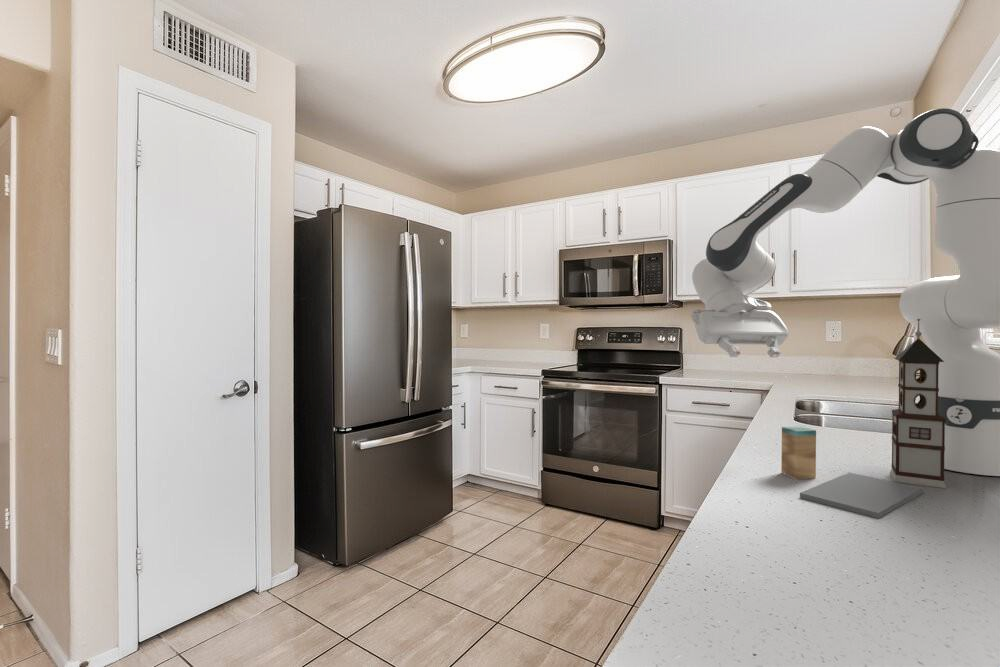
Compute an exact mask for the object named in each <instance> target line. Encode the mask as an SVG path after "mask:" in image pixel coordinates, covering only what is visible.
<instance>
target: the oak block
mask: <svg viewBox="0 0 1000 667" xmlns="http://www.w3.org/2000/svg"><path fill="white" fill-rule="evenodd" d="M816 466H817V430H816V429H812V428H808V427H804V426H799V425H796V426H781V469H780V470H781V472H782V473H781V474H783V473H785V474H787V475H786V476H788V475H789V476H788V477H790V476H792V477H794V478H793V479H795V478H796V479H795V480H803V479H802V478H810V479H816V478H817V477H816V474H817V472H816V471H817V469H816V468H817V467H816ZM785 474H784V475H785ZM792 477H791V478H792Z"/></svg>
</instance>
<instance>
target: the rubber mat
mask: <svg viewBox="0 0 1000 667" xmlns="http://www.w3.org/2000/svg"><path fill="white" fill-rule="evenodd" d="M923 490H924V488H923V487H921V486H916V485H913V484H908V483H902V482H894V481H893V480H892V481H891V480H886V479H882V478H877V477H873V476H869V475H863V474H858V473H853V472H847V473H845V474H842V475H839V476H837V477H835V478H832V479H830V480H828V481H825V482H823V483H820V484H818V485H816V486H813V487H810V488H808V489H806V490H804V491H803V490H802V491H801V492H800V493H799V498H800V499H803V500H807V501H812V502H815V503H819V504H823V505H827V506H831V507H835V508H838V509H842V510H845V511H850V512H853V513H857V514H860V515H865V516H868V517H873V518H876V519H880V518H882V517H884V516H885V515H887V514H888V513H890V512H892V511H893V510H896V509H897V508H899V507H900V506H902V505H904V504H905V503H907V502H909V501H910V500H912V499H914V498H916V497H918V496H919V495H921V494H922V493H924V491H923Z"/></svg>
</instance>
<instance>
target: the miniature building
mask: <svg viewBox="0 0 1000 667" xmlns="http://www.w3.org/2000/svg"><path fill="white" fill-rule="evenodd" d="M917 321H918V330H917V331H916V332H915V336H917V338H916V339H915V340H914V341H913V342H912V343H911V344H909V345H908V346H907V347H906V348H905V349H903V350H902V352H900V353H899V354H897V356H895V357H894V360H896V361H898V363H899V364H898V385H897V387H898V408H896V409H891V416H892V417H891V418H892V422H891V423H892V425H891V427H892V428H891V431H892V433H891V470H890V471H889V474H890V476H891V479H892V481H893V482H897V483H902V484H908V485H919V486H926V487H933V488H940V489H947V487H946V486H947V485H945V469H944V451H945V422H946V419H945V418H944V417H943V416H941V415H940V414H939V413H938V391H939V388H938V368H939V362H944V361H943V360H942V359H941V358H940V357H939V356H938V355H936V354H935V353H934V352H933V351H932V350H931V349H930V348H929V347H928V346H927V345H926V343H925V342H924V341H923V340H921V339H920V338H921V337H922V336H921V334H922V333H921V332H919V321H920V319H917ZM918 371H919V372H918ZM917 377H918V378H917ZM918 397H919V401H917V403H916V399H917V398H918Z"/></svg>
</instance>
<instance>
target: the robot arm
mask: <svg viewBox="0 0 1000 667" xmlns="http://www.w3.org/2000/svg"><path fill="white" fill-rule="evenodd" d="M979 143H980V140H979V138H978V136H977V135H976V134H975V133H974V132H973V130H972V128H971V125H970V123H969V121H968V120H967V118H966V117H965V116H964V115H963V114H962V113H961V112H959V111H958V110H954V109H952V108H942V107H941V108H936V109H930V110H928V111H926V112H923V113H921V114H919V115H918V116H916V117H915V118H913V119H912V120H910V121H909V122H908V123H907V124H906V125H905V126H904V128H903V129H902V130H900V132H899V133H892V134H890V133H885V131H884V130H882V129H880V128H876V127H873V126H863V127H859V128H857V129H854V130H853V131H851V132H850V133H848V134H847V135H846V136H844V137H843V138H842V139H841V140H839V141H838V142H837V143H836V144H834V145H833V146H832V147H831V148H829V150H827V152H826V153H824V155H822V157H821V158H819V159H818V160H817V161H816V162H815V164H813V165H812V166H811V167H810V168H808V169H807V170H806V171H804V172H802V173H797V174H792V175H790V176H788V177H787V178H785V179H783V180H782V181H780V182H779V183H778V184H776V185H775V186H774V187H773V188H771V189H770V190H769V191H768V192H766V193H765V194H764V195H763V196H761V197H760V198H759V199H758V200H757V201H756V202H754V203H753V204H752V205H751V206H750V207H749V208H747V209H746V210H745V211H743V213H741V214H740V215H738V216H737V218H735V219H733V220H732V221H731V222H729V223H727V224H726V225H724V226H722V227H721V228H719V229H718V230H716V231H715V232H714V233H713V234H712V235H711V236H710V238H709V239H708V242H707V245H706V249H705V256H706V258H704V259H702V260H700V261H699V262H698V263H697V264H695V266H694V268H693V271H692V276H691V280H692V283H693V287H694V289H695V292H696V293H697V294H696V295H697V296H698V298H699V300H700V301H701V302H702V303H703V304H704V305H705V309H703V310H702V309H696V310H694V311H693V312H691V315H690V318H691V320H692V322H693V323H694V326H695V331H696V335H697V336H698V339H699V341H700V342H701V343H703V344H705V345H718V346H719V348H721V349H722V350H724V351H725V352H726V353H728V355H729V357H730V358H738V357H739V356H740V354H741V349H739V347H738V346H734V345H744V346H745V345H748V346H749V345H753V346H754V345H755V346H756V345H759V346H760V345H761V346H763V345H765V346H767V348H769V349H768V351H767V354H768V356H769V358H772V359H773V358H775V359H776V358H779V356H780V355H781V351H780V349H779V347H778V346H781V345H783V344H784V342H785V341H786V340H787V338H788V337H789V333H790V332H789V329H788V327H787V326H786V324H785V323H784V321H783V320H782V319H781V317H780V316H779V315H778V314H776V312H774V311H773V310H771V309H772V305H771V303H770V302H768V301H765V300H761V299H758V298H754V297H751V296H750V294H753V292H756V291H758V290H759V289H760V288H763V287H765V285H767V284H769V282H770V281H771V280H772V279H773V277H774V275H775V272H776V266H777V265H776V261H775V259H774V258H772V256H771V255H770V254H769V253H768V252H767V251H766V250H765V248H763V247H762V246H761V245H760V244H759V243H758V242H757V238H758V236H759V234H761V233H762V232H763V231H764V230H766V229H767V228H768V227H769V226H770V225H771V224H773V223H774V222H775V221H776V220H778V219H779V218H780V217H782V216H783V215H784V214H786V213H787V212H788V211H791V210H793V209H804V210H806V211H809V212H812V213H818V214H825V213H826V214H827V213H833V212H837V211H838V210H841V209H842V208H843V207H845V206H847V204H849V203H850V202H852V200H853V199H854V198H855V197H857V195H858V194H859V193H860V192H861V191H862V190H864V188H865V187H867V186H868V184H870V182H872V180H874V179H875V178H876V177H877V178H881V179H884V180H887V181H891V182H892V183H895V184H898V185H904V186H905V185H906V186H908V185H909V186H910V185H915V184H917V185H918V184H920V183H922V182H925V181H927V180H930V181H931V182H932V184H933V185H934V188H935V192H936V193H935V194H936V202H935V228H934V243H935V246H936V248H937V250H938V251H940V252H942V253H943V254H946V255H949V256H951V257H952V258H953V259H954V260H955V261H956V263H957V266H958V270H959V274H958V275H949V276H948V275H947V276H939V277H938V276H937V277H932V278H929V279H924V280H921V281H917V282H915V283H912V284H910V285H908V286H907V287H906V288H904V290H903V291H902V293H901V295H900V298H899V306H898V307H899V312H900V313H901V315H902V317H903V319H905V320H906V322H908V323H909V324H911V325H912V326H913V327H914V328H915V329H916V330H917V331H918V321H917V319H920V321H919V332H921V333H922V334H921V336H920V337H922V339H923V342H924V344H926V345H927V346H928V347H929V348H930V349H931V350H932V351H933V352H934V353H935V354H936V355H938V356H939V357H940V358H941V359H942V360H943V361H944V362H939V368H938V388H939V391H938V413H939V414H940V415H941V416H943V417H944V418H945V419H946V422H945V451H944V470H948V471H953V472H959V473H965V474H973V475H981V476H992V477H1000V353H998V352H996V351H995V350H993V349H990V348H989V347H988V345H986V344H985V343H984V340H982V338H981V336H980V332H979V329H983V330H984V329H985V330H986V329H989V330H990V329H991V330H992V329H997V330H998V329H1000V150H997V149H993V148H988V147H987V148H986V147H983V148H982V147H979V146H978V145H979ZM978 147H979V148H978Z"/></svg>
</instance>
